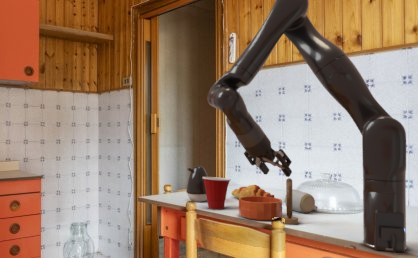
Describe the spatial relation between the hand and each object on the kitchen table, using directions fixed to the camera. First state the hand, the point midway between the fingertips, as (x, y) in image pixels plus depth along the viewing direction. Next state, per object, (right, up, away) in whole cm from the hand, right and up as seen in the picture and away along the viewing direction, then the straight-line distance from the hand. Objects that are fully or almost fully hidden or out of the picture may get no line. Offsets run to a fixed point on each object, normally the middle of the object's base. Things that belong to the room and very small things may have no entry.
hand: (277, 173), depth 127 cm
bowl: (-2, -16, +12) cm, 20 cm away
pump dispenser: (-18, -17, +44) cm, 51 cm away
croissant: (+6, -17, +46) cm, 50 cm away
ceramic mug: (+17, -16, +21) cm, 31 cm away
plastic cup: (-13, -17, +28) cm, 35 cm away
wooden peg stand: (+5, -16, +3) cm, 17 cm away
